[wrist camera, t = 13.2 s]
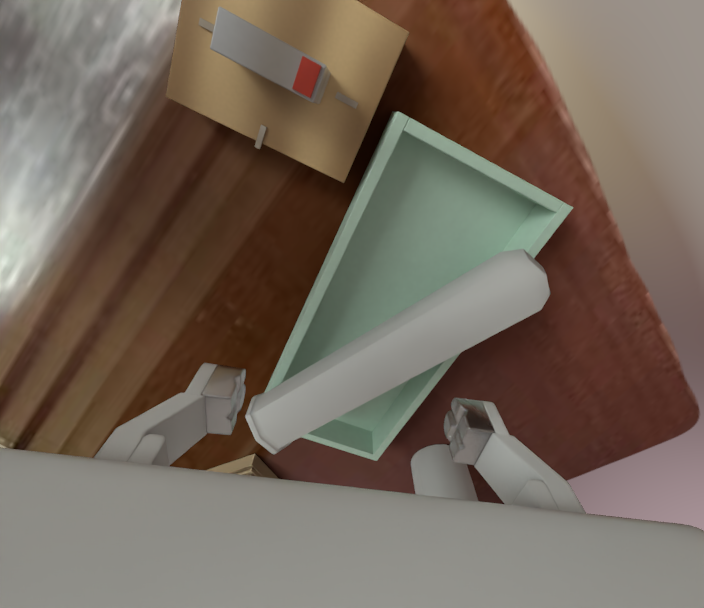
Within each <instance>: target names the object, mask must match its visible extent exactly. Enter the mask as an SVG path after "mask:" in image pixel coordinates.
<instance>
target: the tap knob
mask: <svg viewBox="0 0 704 608" xmlns="http://www.w3.org/2000/svg"><path fill="white" fill-rule="evenodd" d="M210 49H211V50H213V51H215V52H217V53H219V54H221V55H222V56H224V57H226V58H228V59H230V60H232V61H234V62H236V63H238V64H240V65H241V66H243V67H245V68H247V69H249V70H251V71H253V72H255V73H257V74H259V75H261V76H262V77H264V78H266V79H268V80H270V81H272V82H274V83H276V84H278V85H280V86H281V87H283V88H285V89H287V90H289V91H291V92H293V93H295V94H297V95H299V96H300V97H302V98H304V99H306V100H308V101H310V102H312V103H316V104H320V102H321V100H322V97H323V94H324V91H325V89H326V86H327V83H328V80H329V77H330V75H331V73H330V71H329V69H328V68H327V66H326V65H325V64H323V63H321V62H320V61H318V60H316V59H314V58H312V57H311V56H309V55H307V54H305V53H303V52H302V51H300V50H298V49H296V48H294V47H293V46H291V45H289V44H287V43H285V42H284V41H282V40H280V39H278V38H276V37H275V36H273V35H271V34H269V33H267V32H265V31H264V30H262V29H260V28H258V27H256V26H255V25H253V24H251V23H249V22H247V21H246V20H244V19H242V18H240V17H238V16H237V15H235V14H233V13H231V12H229V11H228V10H226V9H224V8H222V7H218V11H217V16H216V21H215V26H214V30H213V35H212V40H211V45H210Z"/></svg>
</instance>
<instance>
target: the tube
mask: <svg viewBox="0 0 704 608" xmlns="http://www.w3.org/2000/svg"><path fill="white" fill-rule="evenodd" d="M550 294H551V292H550V289H549V285H548V281H547V275H546V273H545V270H544V268H543V267H542V266H541V265H540V264H539V263H538V262H537V261H536V260H535V259H534V258H533V257H532V256H531V255H530V254H529V253H527V252H526V251H525V250H524V249H517V250H510V251H504V252H500V253H498V254H496V255H495V256H493V257H491V258H490V259H488V260H486V261H485V262H483V263H481V264H479V265H478V266H476V267H474V268H473V269H471V270H469V271H468V272H466V273H464V274H463V275H461V276H459V277H458V278H456V279H454V280H453V281H451V282H449V283H448V284H446V285H444V286H443V287H441V288H439V289H438V290H436V291H434V292H433V293H431V294H429V295H428V296H426V297H424V298H423V299H421V300H419V301H418V302H416V303H414V304H413V305H411V306H409V307H408V308H406V309H404V310H403V311H401V312H399V313H398V314H396V315H394V316H393V317H391V318H389V319H388V320H386V321H384V322H383V323H381V324H379V325H378V326H376V327H374V328H373V329H371V330H369V331H368V332H366V333H364V334H363V335H361V336H359V337H358V338H356V339H354V340H353V341H351V342H349V343H348V344H346V345H344V346H343V347H341V348H339V349H338V350H336V351H334V352H333V353H331V354H329V355H328V356H326V357H324V358H323V359H321V360H319V361H318V362H316V363H314V364H313V365H311V366H309V367H308V368H306V369H304V370H303V371H301V372H299V373H298V374H296V375H294V376H293V377H291V378H289V379H288V380H286V381H284V382H283V383H281V384H279V385H278V386H276V387H274V388H273V389H271V390H269V391H268V392H265V393H262V394H259V395H256V396H254V397H253V398H252V399H251V402H250V405H249V408H248V410H247V413H246V416H245V417H246V420H247V422H248V424H249V427H250V429H251V431H252V433H253V436H254V438H255V440H256V441H257V442H258V443H259V444H261V445H262V446H263V447H264V448H266V449H267V450H268V451H269V452H271V453H272V454H273V455H274V454H276V453H277V452H279V451H281V450H282V449H284V448H285V447H287V446H288V445H290V444H291V442H292V441H294V440H296V439H298V438H300V437H302V436H304V435H305V434H307V433H309V432H311V431H313V430H315V429H317V428H319V427H321V426H322V425H324V424H326V423H328V422H330V421H332V420H334V419H336V418H338V417H340V416H341V415H343V414H345V413H347V412H349V411H351V410H353V409H355V408H357V407H358V406H360V405H362V404H364V403H366V402H368V401H370V400H372V399H374V398H375V397H377V396H379V395H381V394H383V393H385V392H387V391H389V390H391V389H392V388H394V387H396V386H398V385H400V384H402V383H404V382H406V381H408V380H410V379H411V378H413V377H415V376H417V375H419V374H421V373H423V372H425V371H427V370H428V369H430V368H432V367H434V366H436V365H438V364H440V363H442V362H444V361H445V360H447V359H449V358H451V357H453V356H455V355H457V354H459V353H461V352H463V351H464V350H466V349H468V348H470V347H472V346H474V345H476V344H478V343H480V342H481V341H483V340H485V339H487V338H489V337H491V336H493V335H495V334H497V333H498V332H500V331H502V330H504V329H506V328H508V327H510V326H512V325H514V324H515V323H517V322H519V321H521V320H523V319H525V318H527V317H529V316H531V315H533V314H534V313H536V312H538V311H540V310H541V309H542V308H543V306H544V304H545V303H546V301H547V299H548V297H549V296H550Z"/></svg>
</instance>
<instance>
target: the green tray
mask: <svg viewBox="0 0 704 608" xmlns="http://www.w3.org/2000/svg"><path fill="white" fill-rule="evenodd" d="M572 209H573V207H572V206H570V205H568V204H566V203H564V202H563V201H561V200H559V199H557V198H555V197H553V196H552V195H550V194H548V193H546V192H544V191H543V190H541V189H539V188H537V187H535V186H533V185H532V184H530V183H528V182H526V181H524V180H523V179H521V178H519V177H517V176H515V175H513V174H512V173H510V172H508V171H506V170H504V169H502V168H501V167H499V166H497V165H495V164H493V163H492V162H490V161H488V160H486V159H484V158H482V157H481V156H479V155H477V154H475V153H473V152H472V151H470V150H468V149H466V148H464V147H462V146H461V145H459V144H457V143H455V142H453V141H452V140H450V139H448V138H446V137H444V136H442V135H441V134H439V133H437V132H435V131H433V130H432V129H430V128H428V127H426V126H424V125H422V124H421V123H419V122H417V121H415V120H413V119H412V118H409V117H408V116H406V115H404V114H402V113H401V112H392V114H391V116H390V118H389V120H388V122H387V124H386V127H385V129H384V131H383V133H382V135H381V138H380V140H379V142H378V144H377V146H376V149H375V151H374V153H373V155H372V157H371V160H370V162H369V164H368V166H367V168H366V171H365V173H364V175H363V177H362V179H361V182H360V184H359V186H358V188H357V190H356V193H355V195H354V197H353V199H352V201H351V204H350V206H349V208H348V210H347V212H346V214H345V217H344V219H343V221H342V223H341V225H340V228H339V230H338V232H337V234H336V236H335V239H334V241H333V243H332V245H331V247H330V250H329V252H328V254H327V256H326V258H325V261H324V263H323V265H322V267H321V269H320V272H319V274H318V276H317V278H316V280H315V283H314V285H313V287H312V289H311V291H310V293H309V296H308V298H307V300H306V302H305V304H304V307H303V309H302V311H301V313H300V315H299V318H298V320H297V322H296V324H295V326H294V329H293V331H292V333H291V335H290V337H289V340H288V342H287V344H286V346H285V348H284V351H283V353H282V355H281V357H280V359H279V362H278V364H277V366H276V368H275V370H274V373H273V375H272V377H271V379H270V381H269V383H268V386H267V388H266V390H265V392H268V391H269V390H271V389H273V388H274V387H276V386H278V385H279V384H281V383H283V382H284V381H286V380H288V379H289V378H291V377H293V376H294V375H296V374H298V373H299V372H301V371H303V370H304V369H306V368H308V367H309V366H311V365H313V364H314V363H316V362H318V361H319V360H321V359H323V358H324V357H326V356H328V355H329V354H331V353H333V352H334V351H336V350H338V349H339V348H341V347H343V346H344V345H346V344H348V343H349V342H351V341H353V340H354V339H356V338H358V337H359V336H361V335H363V334H364V333H366V332H368V331H369V330H371V329H373V328H374V327H376V326H378V325H379V324H381V323H383V322H384V321H386V320H388V319H389V318H391V317H393V316H394V315H396V314H398V313H399V312H401V311H403V310H404V309H406V308H408V307H409V306H411V305H413V304H414V303H416V302H418V301H419V300H421V299H423V298H424V297H426V296H428V295H429V294H431V293H433V292H434V291H436V290H438V289H439V288H441V287H443V286H444V285H446V284H448V283H449V282H451V281H453V280H454V279H456V278H458V277H459V276H461V275H463V274H464V273H466V272H468V271H469V270H471V269H473V268H474V267H476V266H478V265H479V264H481V263H483V262H485V261H486V260H488V259H490V258H491V257H493V256H495V255H496V254H498V253H500V252H504V251H510V250H517V249H524V250H525V251H526V252H527V253H529V254H530V255H531V256H532V257H533V258H535V256H536V255H537V254H538V253H539V251H540V250H541V249H542V247H543V246H544V245H545V244H546V242H547V241H548V240H549V238H550V237H551V236H552V235H553V233H554V232H555V231H556V229H557V228H558V227H559V226H560V224H561V223H562V222H563V220H564V219H565V218H566V217H567V215H568V214H569V213H570V211H571V210H572ZM459 354H460V353H459ZM459 354H457V355H455V356H453V357H451V358H449V359H447V360H445V361H444V362H442V363H440V364H438V365H436V366H434V367H432V368H430V369H428V370H427V371H425V372H423V373H421V374H419V375H417V376H415V377H413V378H411V379H410V380H408V381H406V382H404V383H402V384H400V385H398V386H396V387H394V388H392V389H391V390H389V391H387V392H385V393H383V394H381V395H379V396H377V397H375V398H374V399H372V400H370V401H368V402H366V403H364V404H362V405H360V406H358V407H357V408H355V409H353V410H351V411H349V412H347V413H345V414H343V415H341V416H340V417H338V418H336V419H334V420H332V421H330V422H328V423H326V424H324V425H322V426H321V427H319V428H317V429H315V430H313V431H311V432H309V433H307V434H305V435H304V436H302V438H305V439H308V440H312V441H315V442H318V443H321V444H324V445H327V446H331V447H334V448H337V449H340V450H343V451H346V452H350V453H353V454H356V455H359V456H362V457H365V458H369V459H372V460H375V461H377V460H378V459H379V457H380V456H381V455H382V453H383V452H384V451H385V450H386V448H387V447H388V446H389V444H390V443H391V442H392V441H393V439H394V438H395V437H396V435H397V434H398V433H399V431H400V430H401V429H402V428H403V426H404V425H405V424H406V422H407V421H408V420H409V419H410V417H411V416H412V415H413V413H414V412H415V411H416V410H417V408H418V407H419V406H420V404H421V403H422V402H423V401H424V399H425V398H426V397H427V395H428V394H429V393H430V392H431V390H432V389H433V388H434V386H435V385H436V384H437V383H438V381H439V380H440V379H441V377H442V376H443V375H444V374H445V372H446V371H447V370H448V368H449V367H450V366H451V365H452V363H453V362H454V361H455V359H456V358H457V357H458V356H459ZM265 392H264V393H265Z"/></svg>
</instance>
